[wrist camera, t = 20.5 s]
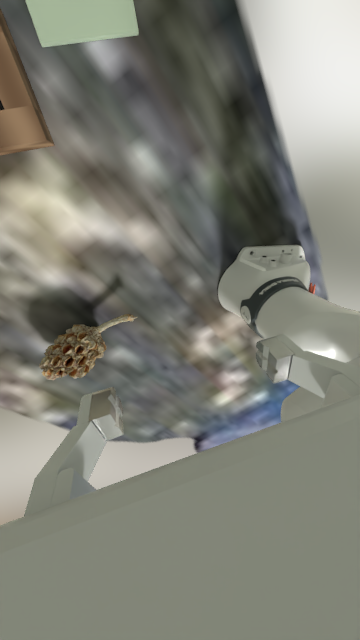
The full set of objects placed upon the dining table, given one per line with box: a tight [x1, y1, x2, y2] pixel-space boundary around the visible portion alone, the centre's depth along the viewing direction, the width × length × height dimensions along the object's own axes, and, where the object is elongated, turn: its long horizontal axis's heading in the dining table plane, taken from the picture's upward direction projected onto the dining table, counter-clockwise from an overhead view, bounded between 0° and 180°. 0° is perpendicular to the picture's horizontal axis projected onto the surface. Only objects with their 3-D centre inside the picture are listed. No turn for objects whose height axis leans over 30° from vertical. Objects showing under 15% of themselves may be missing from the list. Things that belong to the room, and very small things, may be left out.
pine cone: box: [39, 314, 138, 380], centre depth 42 cm, size 22×10×10 cm, turn 124°
